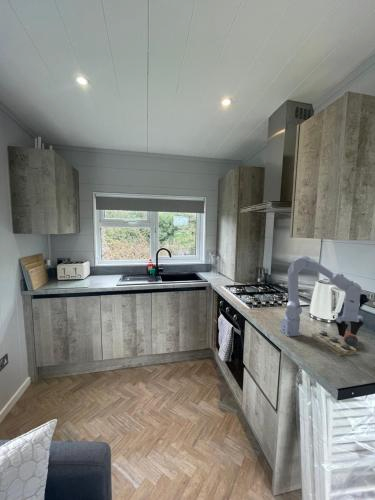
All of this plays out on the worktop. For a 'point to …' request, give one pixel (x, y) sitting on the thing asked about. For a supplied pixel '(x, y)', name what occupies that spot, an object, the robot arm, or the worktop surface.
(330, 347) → the button board
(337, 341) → the button middle
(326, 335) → the button left
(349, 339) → the supplement bottle
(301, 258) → the robot arm
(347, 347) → the button right
